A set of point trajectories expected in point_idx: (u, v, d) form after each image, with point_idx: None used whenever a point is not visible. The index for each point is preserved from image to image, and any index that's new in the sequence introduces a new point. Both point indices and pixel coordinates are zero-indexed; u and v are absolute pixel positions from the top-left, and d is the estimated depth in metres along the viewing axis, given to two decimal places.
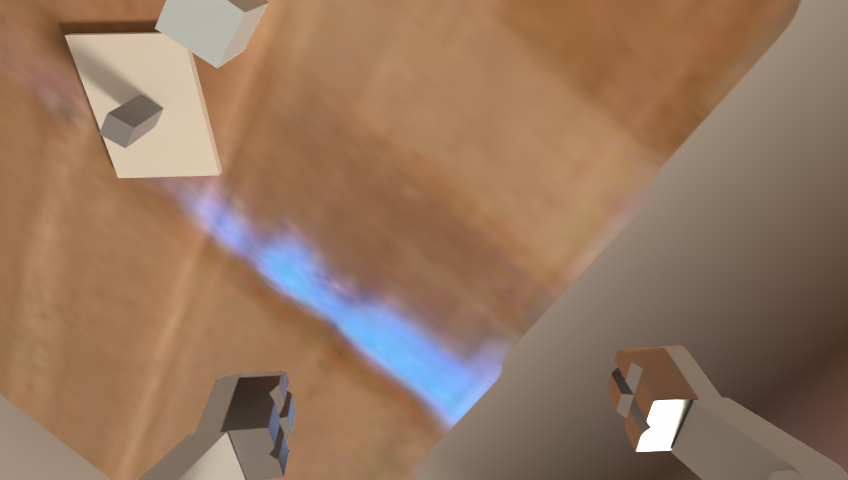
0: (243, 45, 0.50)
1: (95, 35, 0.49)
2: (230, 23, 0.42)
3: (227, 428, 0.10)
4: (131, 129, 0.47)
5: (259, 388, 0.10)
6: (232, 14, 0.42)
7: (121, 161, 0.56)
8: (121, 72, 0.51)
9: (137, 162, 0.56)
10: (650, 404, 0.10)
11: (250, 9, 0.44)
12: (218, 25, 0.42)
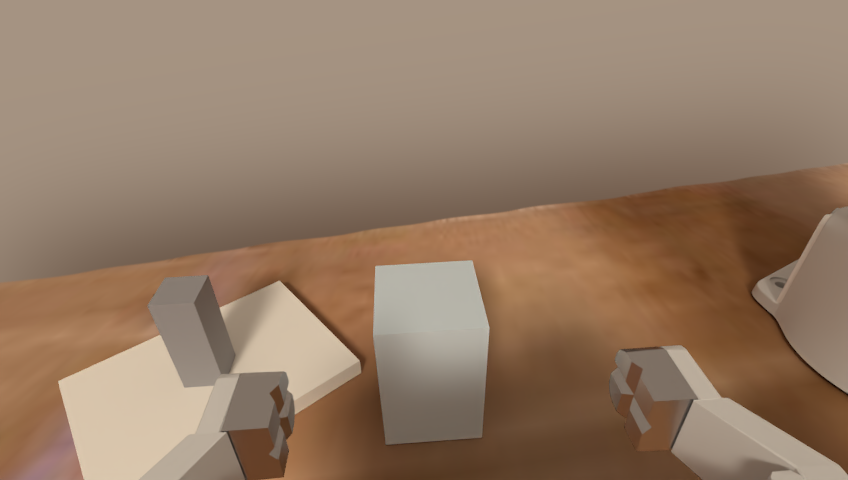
0: (402, 422, 0.27)
1: (296, 299, 0.38)
2: (456, 320, 0.24)
3: (227, 428, 0.10)
4: (188, 300, 0.27)
5: (259, 388, 0.10)
6: (470, 317, 0.24)
7: (97, 374, 0.32)
8: (260, 329, 0.35)
9: (100, 391, 0.31)
10: (650, 404, 0.10)
11: (487, 356, 0.25)
12: (440, 311, 0.25)
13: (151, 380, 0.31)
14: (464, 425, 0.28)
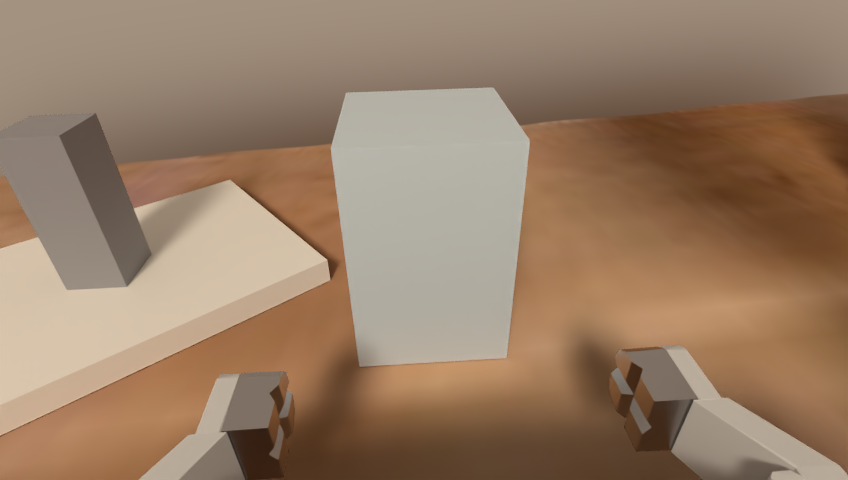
0: (383, 327, 0.17)
1: (248, 197, 0.28)
2: (473, 134, 0.14)
3: (227, 428, 0.10)
4: (52, 134, 0.17)
5: (259, 388, 0.10)
6: (496, 132, 0.15)
7: None
8: (193, 226, 0.25)
9: None
10: (650, 404, 0.10)
11: (522, 203, 0.15)
12: (446, 127, 0.15)
13: (21, 281, 0.22)
14: (480, 335, 0.18)
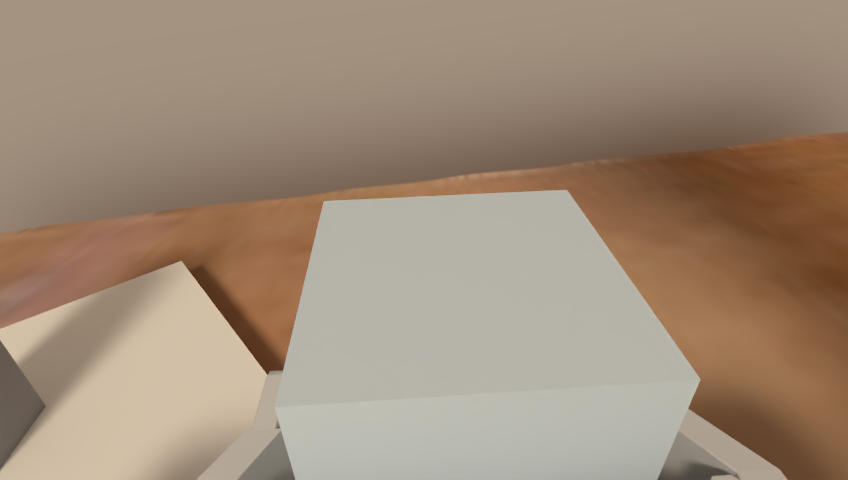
0: None
1: (202, 292, 0.21)
2: (573, 350, 0.07)
3: None
4: None
5: None
6: (616, 340, 0.07)
7: None
8: (116, 349, 0.18)
9: None
10: None
11: None
12: (511, 319, 0.08)
13: None
14: None
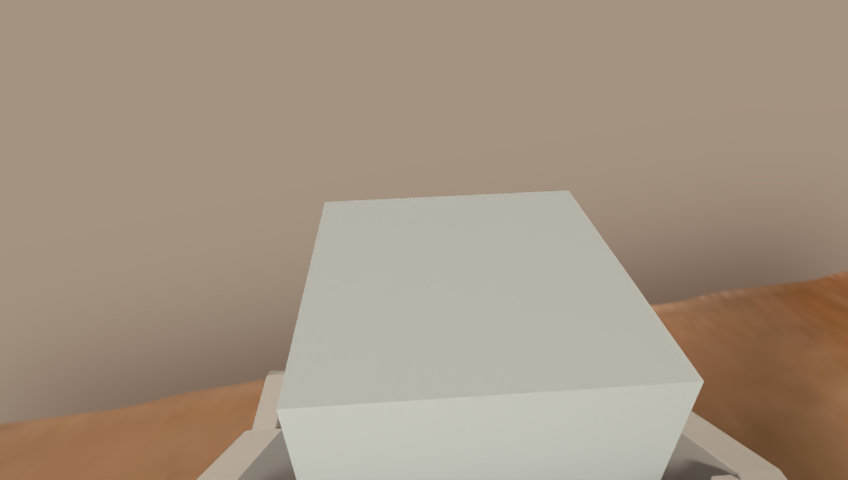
0: None
1: None
2: (576, 352, 0.07)
3: None
4: None
5: None
6: (620, 342, 0.07)
7: None
8: None
9: None
10: None
11: (661, 466, 0.08)
12: (513, 320, 0.08)
13: None
14: None
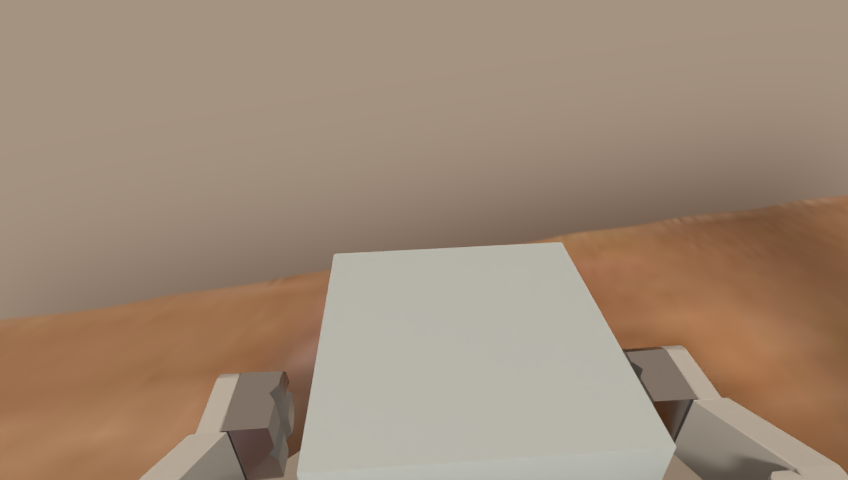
0: None
1: None
2: (563, 416, 0.08)
3: (227, 428, 0.10)
4: None
5: (259, 388, 0.10)
6: (602, 406, 0.08)
7: None
8: None
9: None
10: None
11: None
12: (508, 383, 0.08)
13: None
14: None
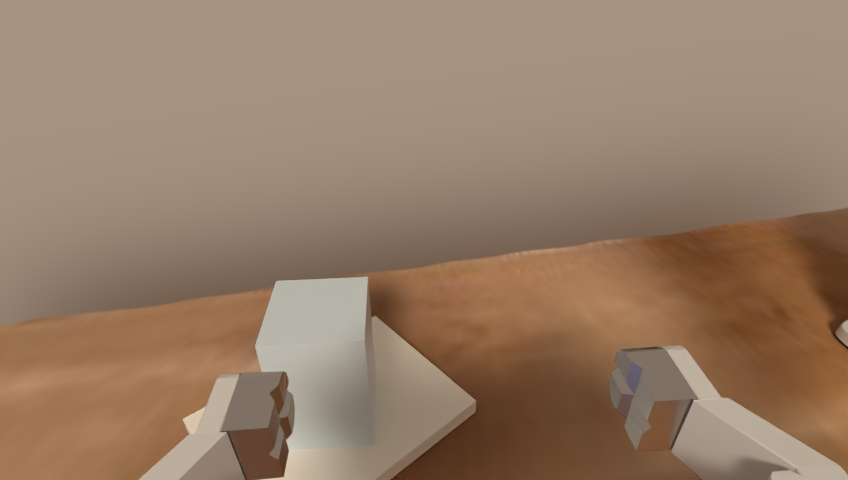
0: (294, 429, 0.29)
1: (396, 335, 0.39)
2: (336, 333, 0.26)
3: (227, 428, 0.10)
4: None
5: (259, 388, 0.10)
6: (349, 330, 0.26)
7: None
8: None
9: None
10: (650, 404, 0.10)
11: (367, 367, 0.27)
12: (324, 324, 0.27)
13: None
14: (355, 432, 0.30)
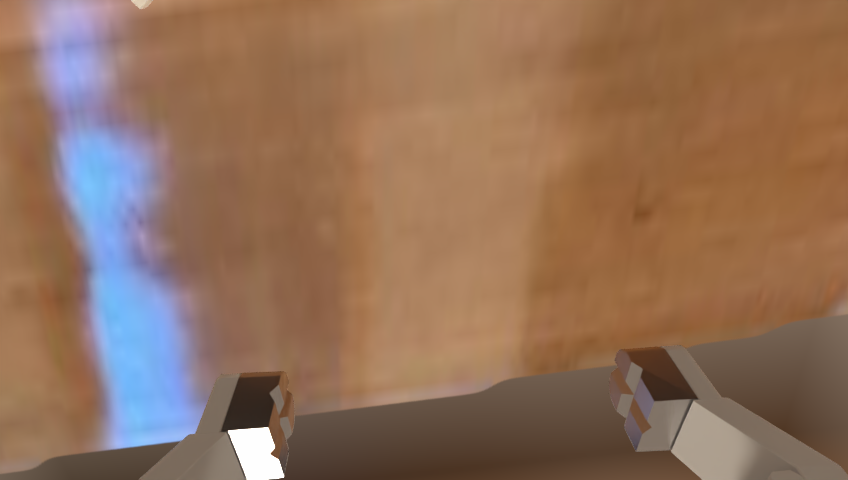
0: None
1: None
2: None
3: (227, 428, 0.10)
4: None
5: (259, 388, 0.10)
6: None
7: None
8: None
9: None
10: (650, 404, 0.10)
11: None
12: None
13: None
14: None
